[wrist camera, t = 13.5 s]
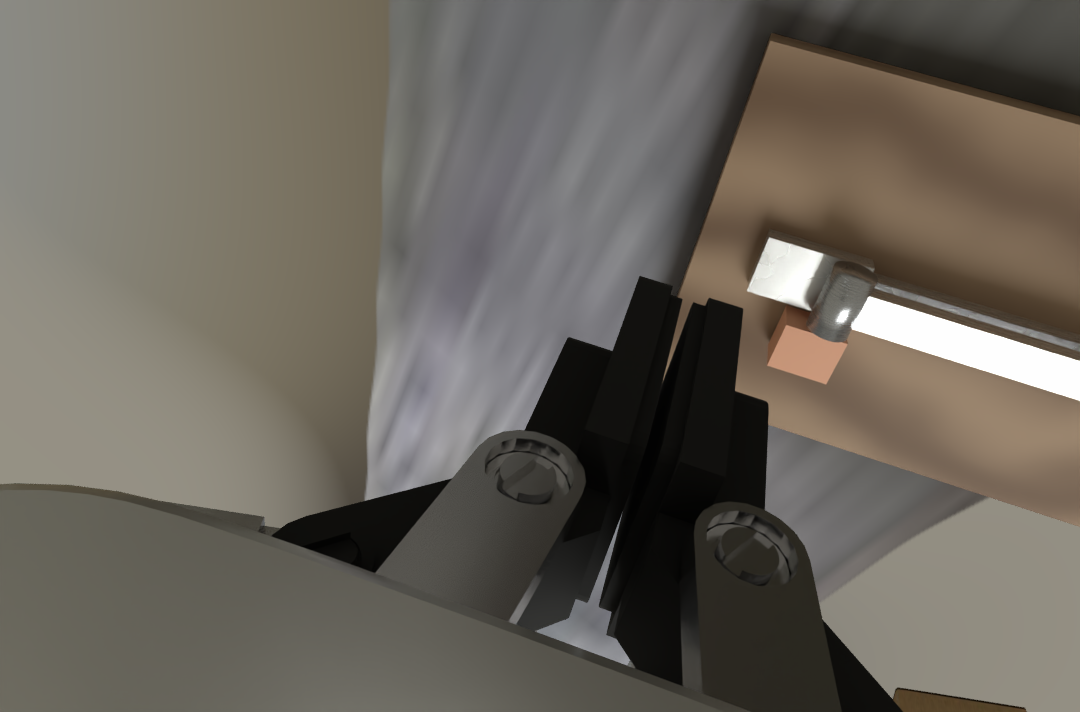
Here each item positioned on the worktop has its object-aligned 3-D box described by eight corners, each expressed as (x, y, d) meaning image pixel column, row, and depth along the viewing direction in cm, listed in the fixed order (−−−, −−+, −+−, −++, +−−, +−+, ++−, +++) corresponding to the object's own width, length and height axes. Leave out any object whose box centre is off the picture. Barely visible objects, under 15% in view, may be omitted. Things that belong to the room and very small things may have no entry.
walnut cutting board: (771, 32, 34) (770, 40, 32) (1505, 231, 30) (1540, 250, 29) (651, 367, 45) (646, 384, 43) (1179, 539, 41) (1193, 564, 40)
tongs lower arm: (745, 286, 38) (744, 297, 37) (771, 223, 36) (771, 233, 35) (1218, 433, 36) (1230, 448, 35) (1276, 374, 34) (1291, 389, 33)
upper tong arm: (804, 316, 37) (804, 337, 36) (835, 252, 35) (837, 271, 33) (1232, 451, 35) (1253, 479, 33) (1293, 391, 33) (1318, 418, 31)
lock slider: (768, 344, 40) (767, 365, 38) (786, 305, 38) (786, 325, 37) (824, 362, 39) (826, 384, 38) (845, 323, 38) (847, 344, 36)
